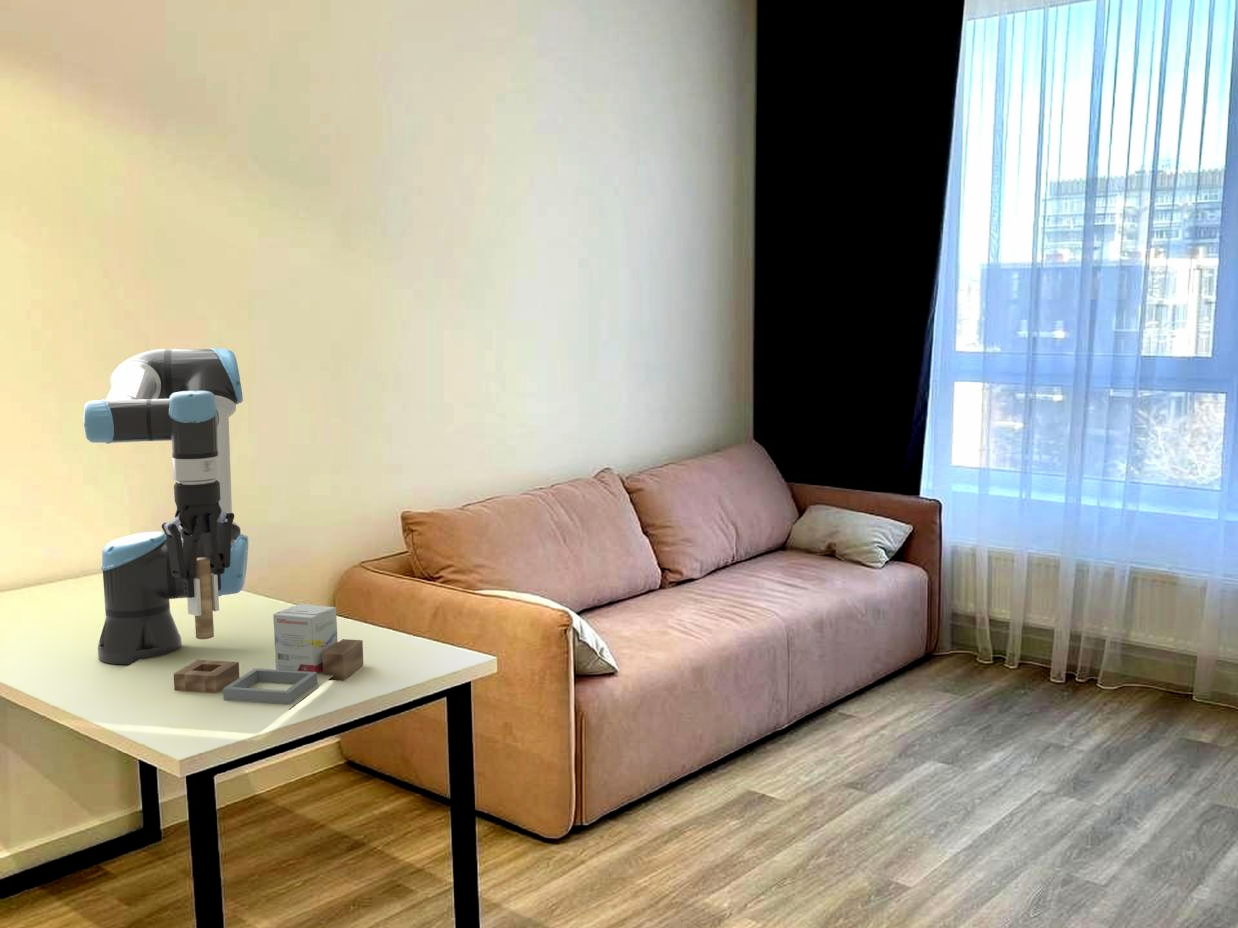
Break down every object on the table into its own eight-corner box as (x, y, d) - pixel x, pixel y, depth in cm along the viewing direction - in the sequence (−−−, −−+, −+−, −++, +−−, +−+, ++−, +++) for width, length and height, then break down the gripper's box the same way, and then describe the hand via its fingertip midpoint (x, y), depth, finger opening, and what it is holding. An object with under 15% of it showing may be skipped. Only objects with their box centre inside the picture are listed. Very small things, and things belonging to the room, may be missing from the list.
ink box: (340, 666, 218) (338, 605, 216) (314, 680, 210) (311, 617, 208) (301, 661, 221) (298, 601, 219) (274, 675, 213) (271, 613, 211)
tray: (223, 705, 197) (223, 688, 196) (255, 684, 208) (254, 668, 207) (289, 709, 195) (288, 692, 194) (317, 688, 205) (317, 672, 205)
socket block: (174, 695, 202) (173, 673, 201) (199, 680, 210) (197, 659, 209) (216, 698, 200) (215, 676, 200) (239, 683, 208) (238, 661, 208)
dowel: (192, 637, 203) (188, 559, 201) (207, 633, 206) (202, 556, 204) (203, 640, 202) (198, 562, 200) (217, 635, 204) (213, 558, 202)
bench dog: (323, 679, 210) (322, 653, 209) (343, 664, 219) (342, 639, 218) (343, 681, 209) (342, 654, 209) (363, 665, 218) (362, 640, 217)
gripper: (169, 489, 191) (177, 626, 194) (248, 476, 204) (254, 605, 208) (142, 485, 195) (150, 619, 199) (221, 472, 208) (228, 598, 212)
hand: (203, 611), depth 203 cm, fingers closed on dowel, 3 cm apart
